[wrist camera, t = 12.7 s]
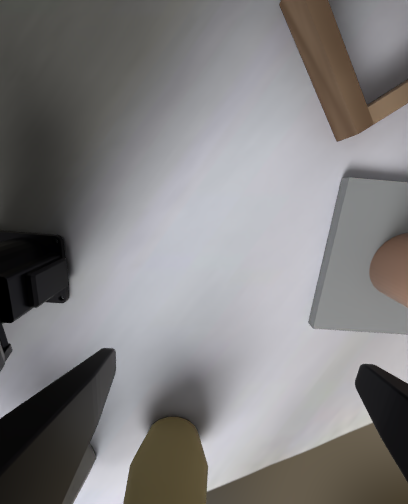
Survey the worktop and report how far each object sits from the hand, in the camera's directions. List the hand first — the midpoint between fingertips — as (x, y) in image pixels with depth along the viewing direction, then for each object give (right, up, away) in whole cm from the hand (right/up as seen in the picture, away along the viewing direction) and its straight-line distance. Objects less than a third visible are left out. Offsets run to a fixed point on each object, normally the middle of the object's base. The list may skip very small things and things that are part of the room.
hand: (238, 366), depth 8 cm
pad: (+17, +3, +13) cm, 21 cm away
